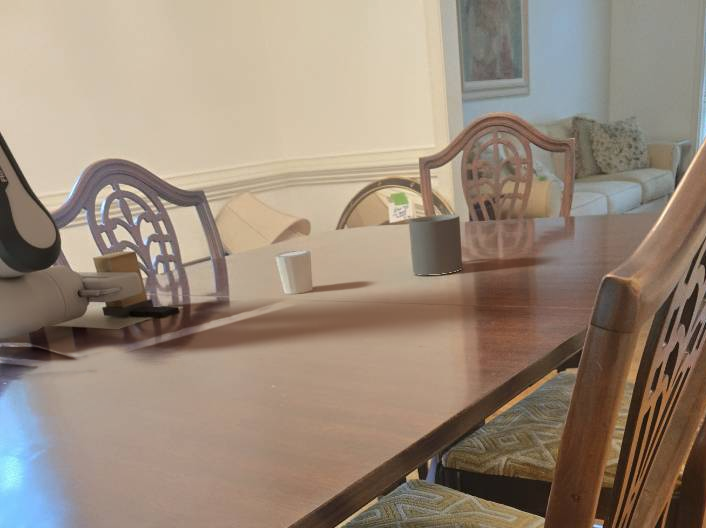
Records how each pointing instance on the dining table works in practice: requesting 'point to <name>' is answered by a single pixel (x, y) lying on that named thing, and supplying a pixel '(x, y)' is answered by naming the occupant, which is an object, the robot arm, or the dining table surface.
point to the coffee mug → (435, 244)
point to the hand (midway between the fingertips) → (124, 276)
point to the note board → (103, 320)
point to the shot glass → (295, 271)
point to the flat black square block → (162, 312)
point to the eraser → (122, 264)
